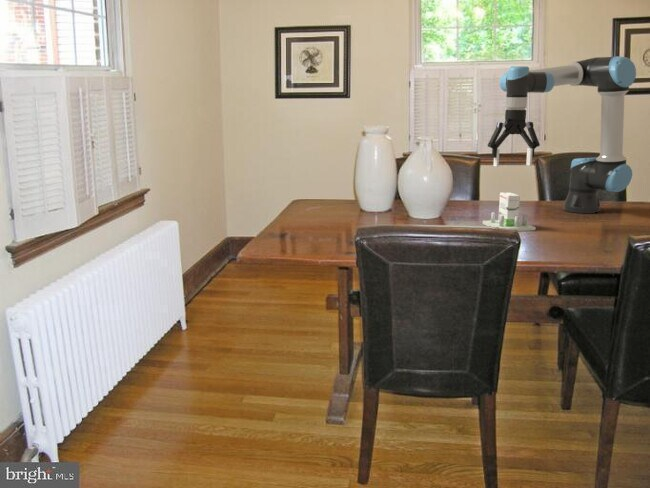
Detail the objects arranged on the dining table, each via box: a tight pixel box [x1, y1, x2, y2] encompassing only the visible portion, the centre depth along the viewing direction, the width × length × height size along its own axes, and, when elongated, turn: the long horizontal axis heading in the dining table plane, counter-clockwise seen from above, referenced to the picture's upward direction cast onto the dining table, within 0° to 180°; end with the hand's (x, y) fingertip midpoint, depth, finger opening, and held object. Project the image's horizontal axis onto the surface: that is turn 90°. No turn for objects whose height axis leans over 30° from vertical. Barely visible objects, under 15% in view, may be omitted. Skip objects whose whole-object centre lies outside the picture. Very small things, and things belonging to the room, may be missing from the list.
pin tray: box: [482, 211, 536, 232], centre depth 271 cm, size 14×16×5 cm
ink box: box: [497, 191, 521, 226], centre depth 270 cm, size 9×5×12 cm, turn 9°
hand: (512, 166), depth 266 cm, fingers open, 13 cm apart
